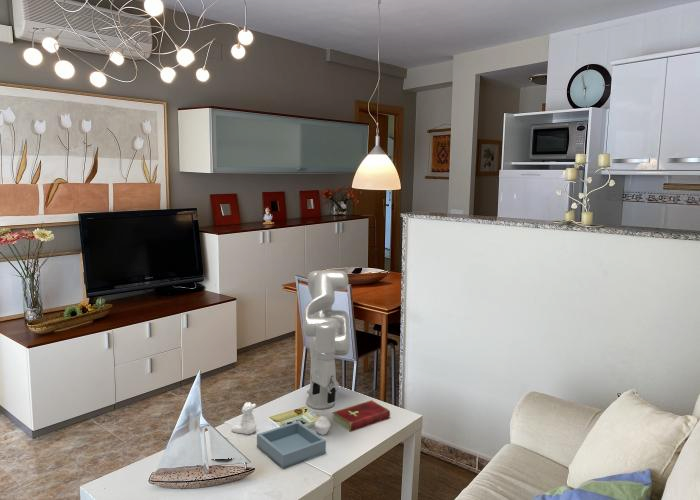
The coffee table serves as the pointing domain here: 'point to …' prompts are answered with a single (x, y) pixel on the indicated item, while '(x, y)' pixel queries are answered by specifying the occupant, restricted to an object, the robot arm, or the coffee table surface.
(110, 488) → the coffee table surface
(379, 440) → the coffee table surface
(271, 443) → the bin
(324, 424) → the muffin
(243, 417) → the white creature statuette
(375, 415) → the hardcover book
